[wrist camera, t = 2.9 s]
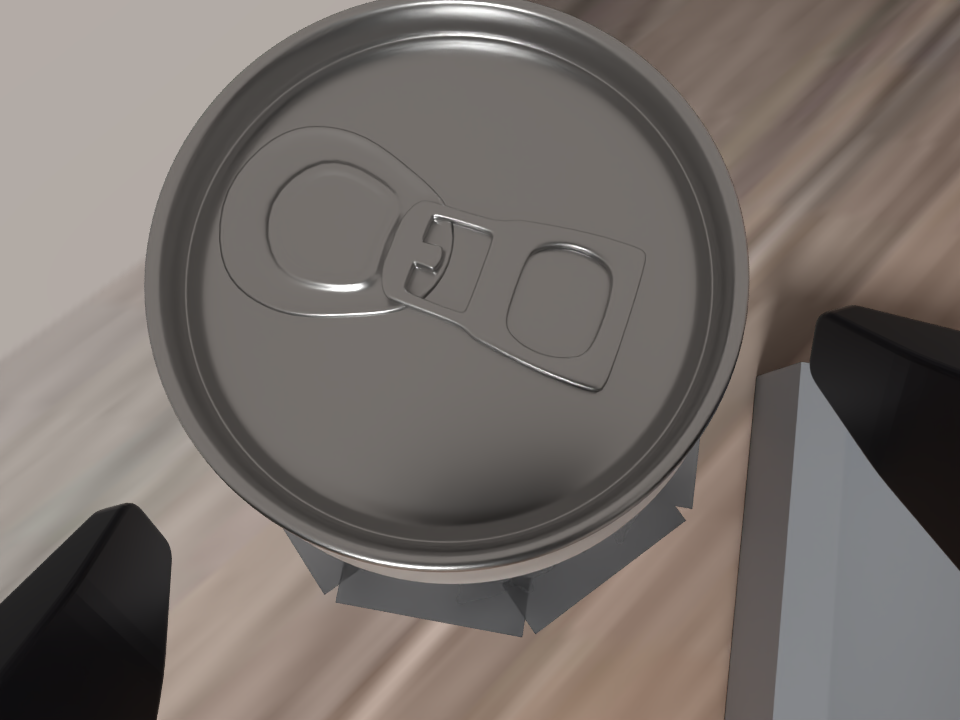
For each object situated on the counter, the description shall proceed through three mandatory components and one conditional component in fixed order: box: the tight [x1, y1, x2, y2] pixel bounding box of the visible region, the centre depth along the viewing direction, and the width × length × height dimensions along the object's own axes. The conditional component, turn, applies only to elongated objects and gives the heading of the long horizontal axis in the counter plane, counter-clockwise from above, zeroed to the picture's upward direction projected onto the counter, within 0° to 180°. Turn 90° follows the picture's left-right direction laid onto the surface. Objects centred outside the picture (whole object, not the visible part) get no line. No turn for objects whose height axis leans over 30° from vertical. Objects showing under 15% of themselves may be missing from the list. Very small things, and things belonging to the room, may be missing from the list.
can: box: [144, 0, 749, 584], centre depth 11 cm, size 6×6×12 cm
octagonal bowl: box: [283, 438, 700, 637], centre depth 15 cm, size 10×10×4 cm
